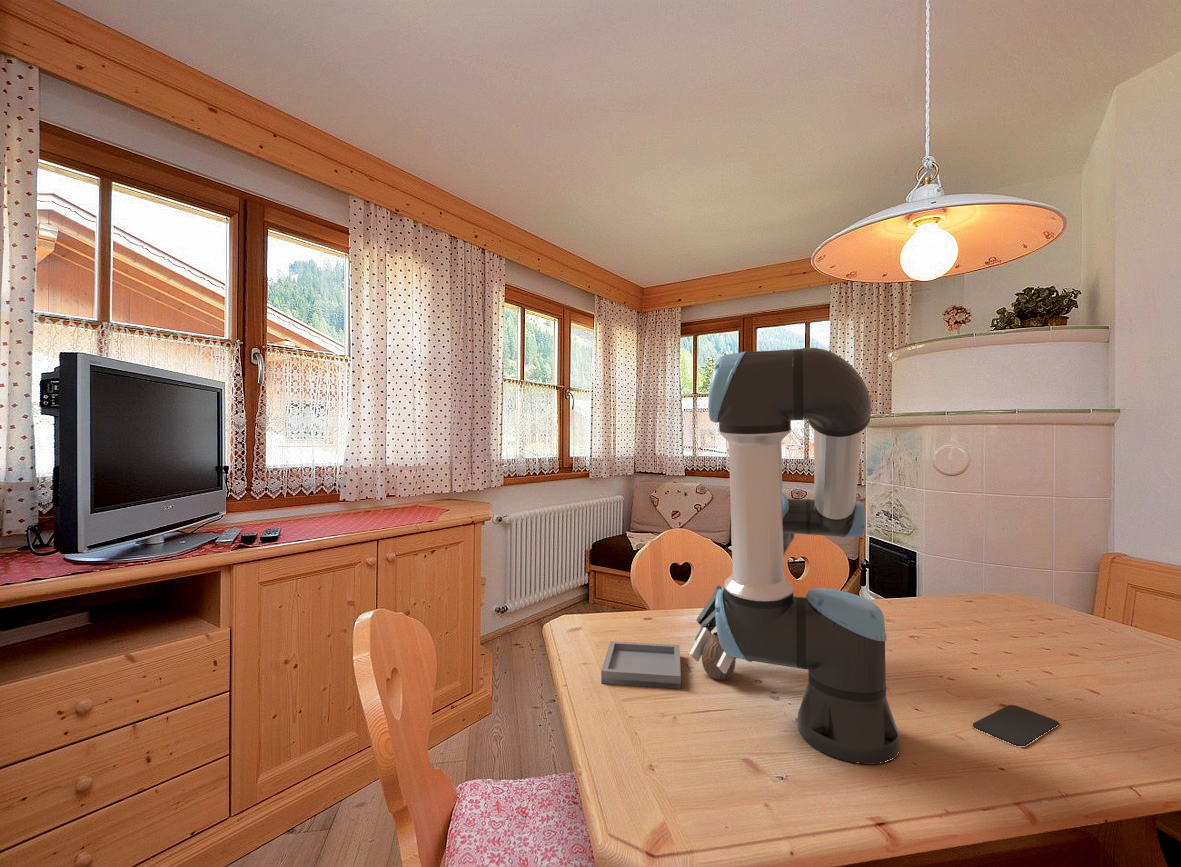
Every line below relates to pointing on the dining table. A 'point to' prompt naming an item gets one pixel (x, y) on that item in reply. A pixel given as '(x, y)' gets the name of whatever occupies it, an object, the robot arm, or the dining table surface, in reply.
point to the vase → (715, 659)
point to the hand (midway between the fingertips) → (707, 663)
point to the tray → (642, 665)
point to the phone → (1015, 725)
